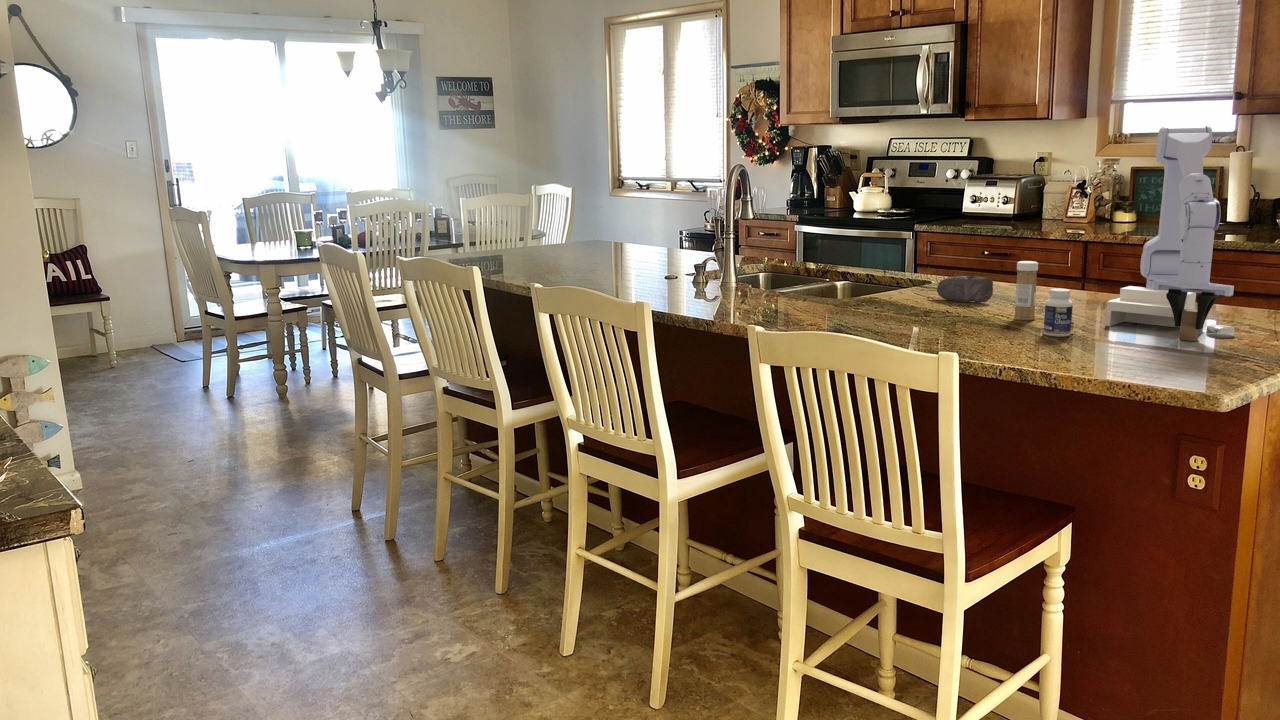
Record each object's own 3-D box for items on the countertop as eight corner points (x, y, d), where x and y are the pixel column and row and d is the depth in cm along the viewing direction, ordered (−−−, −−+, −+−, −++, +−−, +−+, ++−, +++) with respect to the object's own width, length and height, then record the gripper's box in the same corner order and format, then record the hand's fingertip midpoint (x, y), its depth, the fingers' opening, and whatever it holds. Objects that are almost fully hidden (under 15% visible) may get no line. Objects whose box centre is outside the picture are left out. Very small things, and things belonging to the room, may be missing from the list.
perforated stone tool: (931, 300, 265) (932, 273, 264) (942, 297, 268) (943, 271, 267) (983, 306, 254) (984, 279, 252) (994, 304, 257) (995, 276, 256)
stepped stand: (1122, 320, 231) (1125, 285, 229) (1192, 328, 220) (1196, 291, 218) (1105, 325, 225) (1108, 290, 223) (1176, 334, 214) (1180, 296, 212)
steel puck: (1208, 333, 215) (1209, 324, 215) (1235, 335, 212) (1236, 326, 212) (1203, 337, 212) (1204, 327, 211) (1231, 339, 209) (1232, 330, 208)
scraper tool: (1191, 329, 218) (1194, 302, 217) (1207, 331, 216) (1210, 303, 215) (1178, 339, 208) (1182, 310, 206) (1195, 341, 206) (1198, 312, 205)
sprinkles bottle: (1038, 319, 234) (1042, 261, 231) (1026, 321, 231) (1030, 263, 229) (1021, 316, 238) (1025, 259, 235) (1009, 319, 235) (1012, 261, 232)
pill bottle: (1054, 337, 213) (1057, 292, 211) (1037, 333, 218) (1040, 288, 216) (1076, 336, 214) (1079, 290, 212) (1059, 331, 219) (1062, 287, 217)
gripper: (1150, 260, 207) (1144, 325, 210) (1227, 266, 196) (1220, 334, 199) (1163, 257, 211) (1157, 321, 214) (1240, 262, 201) (1232, 329, 204)
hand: (1188, 327), depth 207 cm, fingers closed on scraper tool, 3 cm apart
